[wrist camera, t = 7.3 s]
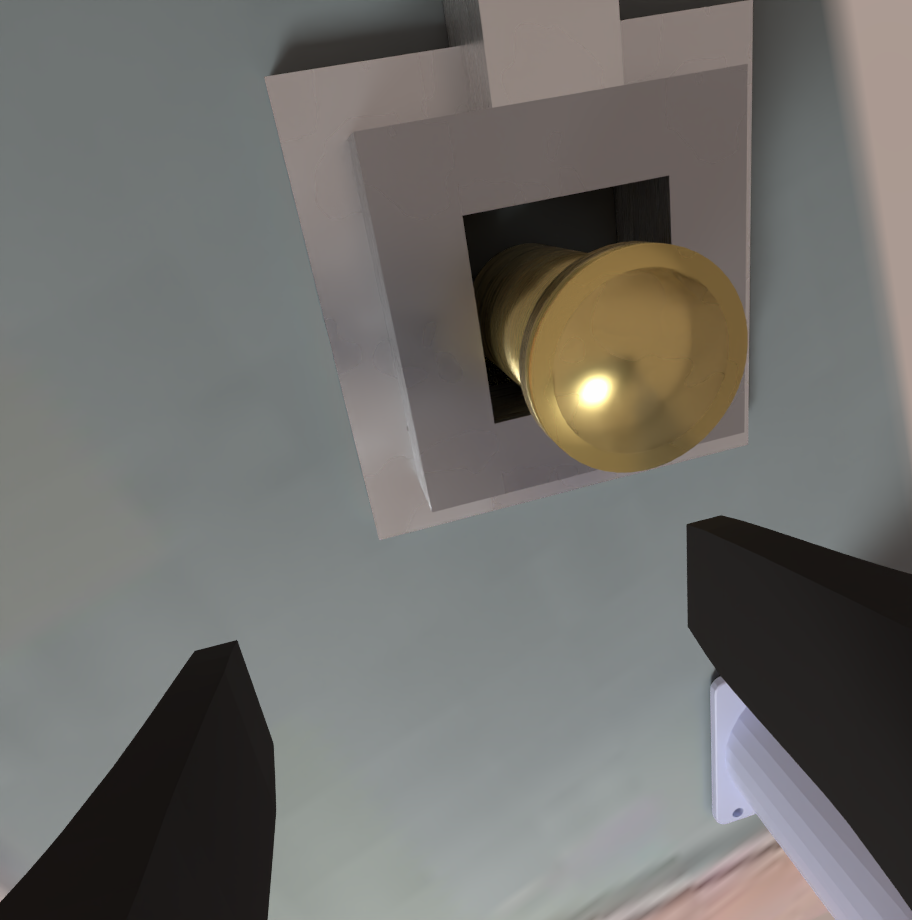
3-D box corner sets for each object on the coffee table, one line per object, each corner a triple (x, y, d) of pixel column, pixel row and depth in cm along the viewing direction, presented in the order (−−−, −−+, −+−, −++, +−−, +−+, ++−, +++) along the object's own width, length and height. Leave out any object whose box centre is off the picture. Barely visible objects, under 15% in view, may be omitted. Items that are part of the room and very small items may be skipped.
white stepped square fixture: (728, -701, 13) (847, -948, 10) (729, 434, 22) (790, 467, 19) (70, -702, 11) (-5, -1000, 8) (375, 525, 20) (387, 575, 18)
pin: (597, 217, 18) (754, 226, 12) (603, 370, 20) (742, 449, 14) (443, 240, 18) (522, 263, 11) (462, 396, 19) (541, 492, 13)
